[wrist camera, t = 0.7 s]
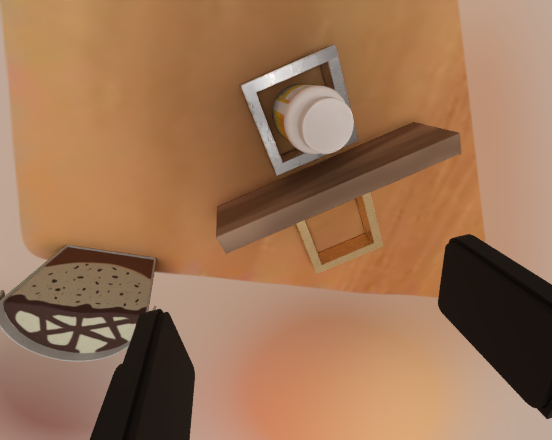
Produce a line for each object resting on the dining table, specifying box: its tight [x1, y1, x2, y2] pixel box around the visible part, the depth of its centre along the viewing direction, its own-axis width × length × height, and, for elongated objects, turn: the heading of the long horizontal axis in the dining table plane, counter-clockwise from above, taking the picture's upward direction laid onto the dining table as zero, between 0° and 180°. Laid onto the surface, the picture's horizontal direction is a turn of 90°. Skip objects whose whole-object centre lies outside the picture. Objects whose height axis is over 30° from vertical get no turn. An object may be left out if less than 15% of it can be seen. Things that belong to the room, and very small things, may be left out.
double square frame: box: [240, 45, 383, 274], centre depth 32 cm, size 23×9×2 cm, turn 21°
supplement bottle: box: [273, 84, 354, 154], centre depth 25 cm, size 5×5×10 cm
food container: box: [0, 245, 156, 361], centre depth 30 cm, size 12×6×10 cm, turn 73°
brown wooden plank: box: [216, 122, 461, 253], centre depth 30 cm, size 2×24×7 cm, turn 111°
